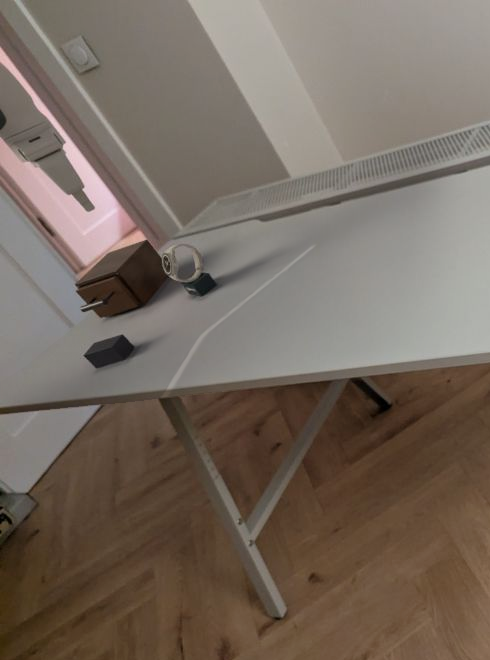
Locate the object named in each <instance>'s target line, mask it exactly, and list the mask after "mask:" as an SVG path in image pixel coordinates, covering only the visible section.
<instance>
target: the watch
mask: <svg viewBox="0 0 490 660" xmlns="http://www.w3.org/2000/svg"><path fill="white" fill-rule="evenodd" d="M180 247H187V248H188V249H190V250H191V253H192V257H193V260H194V268H195V272H194V273H192V274H191V275H189V276H188V277H187V278H186V279H180V278H179V274H178V272H179V261H178V259H177V257H176V249H177V248H180ZM161 258H162V266H163V269H164V272H165V273H166V275H168V276H169V277H168V278H171V279H172V280H174V281H177V282H179V283H181V286H183V288H184V289H185V290H186V292H187V293H188V294H189V295H191V296H197V297H203V296H204V295H206V294H207V293H208V292H210V291H211V290H212V289H214V288H216V287H217V286H218V284H217V282H216V281H215V280H214V278H213V277H212V275H211V274H210V273H209V272H204V260H203V258H202V255H201V252H199V250H198V249H197V248H196V247H195V246H193V245H191V244H187V243H175V244H172V245H170V246H169V247H168V248H166V250H165V251H164V252H163V253H162V255H161Z"/></svg>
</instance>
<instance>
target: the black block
mask: <svg viewBox="0 0 490 660" xmlns="http://www.w3.org/2000/svg"><path fill="white" fill-rule="evenodd" d="M134 349H135V346H134V345H133V343H131V341H130V340H129V339H128V338H127V337H126V336H125V335H124V334H122V333H121V334H118V335H116V336H112V337H109V338H105V339H102V340H99V341H96V342H93V344H92V345H91V346H90V347H89V348H88V349H87V350H86V352H84V354H83V357H84V358H85V360H87V361H88V362H89V364H91V365H92V366H93V367H94V368H95V369H99V368H102V367H105V366H109V365H112V364H115V363H119V362H123V361H126V360H127V358H128V357H129V356H130V354H131V352H132V351H133V350H134Z"/></svg>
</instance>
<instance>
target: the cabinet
mask: <svg viewBox="0 0 490 660" xmlns="http://www.w3.org/2000/svg"><path fill="white" fill-rule="evenodd" d="M157 251H158V250H156V249H155V247H154V246H153V245H152V244H151V242H150V241H149V240H148V239H144V240H141V241H138V242H135V243H132V244H130V245H126V246H124V247H121V248H118V249H115V250H112V251H109V252H107V253H106V254H105V255H104V256H103V257H102V258H101V259H100V260H99V261H98V262H97V263H96V264H95V265H93V266H92V267H91V268H90V269H89V270H88V271H87V272H86V273H85V274H84V275H83V276H82V277H81V278H79V279H78V281H77V282H75V283H74V286H75V287H76V288H77V289H78V288H81V287H84V286H85V284H88V283H91V282H94V281H97V280H100V279H103V278H106V277H109V276H112V275H115V274H117V275H118V277H119V278H120V279H121V280H122V281H123V283H124V284H125V285H126V286H127V287H128V288H129V290H130V291H131V292H132V293H133V294H134V295H135V297H136V298H137V299H138V302H139V303H140V304H139V305H138V306H137V307H134V308H131V309H128V310H125V311H122V312H118V313H115V314H112V315H109V316H106V317H105V318H107V317H111V316H115V315H117V314H118V315H119V314H120V313H123V312H124V313H125V312H127V311H130V310H133V309H134V310H135V309H136V308H141V307H144V306H146V305H147V304H148V303H149V301H151V299H152V298H153V297H154V295H155V294H156V293H157V292H158V290H159V289H160V288H161V287H162V286H163V285H164V283H165V282H166V281H167V280H168V278H170V277H169V276H168V275H166V273H165V272H164V269H163V266H162V255H160V253H158V252H157Z"/></svg>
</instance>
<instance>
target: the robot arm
mask: <svg viewBox="0 0 490 660" xmlns="http://www.w3.org/2000/svg"><path fill="white" fill-rule="evenodd" d="M0 138H1V140H2V141H3V142H4V144H5V145H6V146H7V147H8V148H9V149H10V150H11V152H12V153H13V154H14V155H15V157H16V158H17V159H18V160H19V161H20V163H26V162H27V163H31V164H32V166H33V167H34V168H39V169H40V170H41V172H43V173H44V174H45V175H46V176H47V177H48V178H49V180H51V181H52V182H53V183H54V184H55V186H57V187H58V188H59V189H60V190H61V191H62V192H63V193H64V194H65V195H67V196H72V197H73V198H74V199H75V201H77V202H78V204H79V205H80V206H81V208H83V209H84V210H85V211H86V212H87V213H90V212H92V211H94V210H95V209H96V207H95V205H94V203H93V202H92V201H91V200H90V198H89V197H88V196H87V193H86V192H85V191H84V190H83V189H84V188H85V184H84V182H83V180H82V178H81V177H80V175H79V174H78V172H77V170H76V169H75V167H74V166H73V164H72V163H71V161H70V160H69V158H68V157H67V155H66V154H67V152H66V151H65V149H64V145H66V143H67V141H66V140H65V139H64V137H63V136H62V134H61V133H60V132H59V131H58V130H57V128H56V127H55V126H54V125H53V123H52V122H51V121H50V119H49V118H48V117H47V116H46V115H45V114H44V113H43V112H42V111H40V110H39V108H38V107H37V106H36V104H35V102H34V100H33V97H32V96H31V94H30V93H29V92H28V91H27V89H26V88H25V87H24V86H23V84H22V83H21V82H20V81H19V80H18V79H17V77H16V76H15V75H14V74H13V73H12V72H11V71H10V69H8V67H6V65H5V64H3V62H1V61H0Z"/></svg>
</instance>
